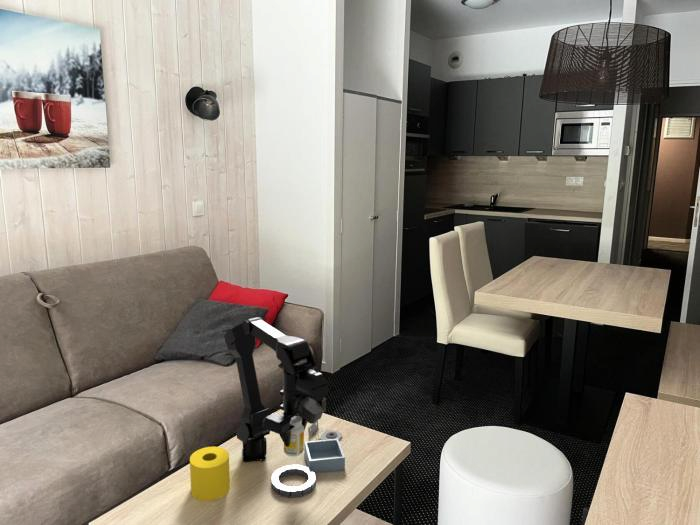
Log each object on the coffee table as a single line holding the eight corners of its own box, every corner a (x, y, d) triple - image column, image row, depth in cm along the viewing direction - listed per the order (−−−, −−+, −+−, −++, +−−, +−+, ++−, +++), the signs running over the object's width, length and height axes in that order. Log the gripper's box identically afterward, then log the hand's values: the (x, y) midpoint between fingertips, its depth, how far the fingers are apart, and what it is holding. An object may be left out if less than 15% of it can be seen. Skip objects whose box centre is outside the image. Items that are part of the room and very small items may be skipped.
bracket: (336, 445, 167) (336, 434, 166) (307, 437, 171) (308, 427, 170) (345, 435, 173) (345, 425, 172) (317, 428, 177) (317, 418, 176)
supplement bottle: (288, 459, 141) (288, 425, 139) (280, 449, 145) (280, 416, 143) (307, 453, 143) (307, 421, 141) (298, 444, 148) (299, 412, 146)
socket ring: (273, 500, 139) (273, 493, 139) (270, 473, 151) (270, 467, 150) (318, 495, 142) (318, 488, 142) (311, 469, 153) (311, 463, 153)
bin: (309, 473, 151) (309, 461, 150) (304, 453, 161) (304, 441, 160) (344, 470, 153) (345, 457, 153) (337, 450, 163) (338, 438, 162)
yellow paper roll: (190, 503, 137) (189, 470, 135) (191, 480, 147) (190, 449, 145) (230, 497, 140) (230, 465, 138) (228, 475, 149) (228, 444, 148)
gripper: (296, 409, 128) (296, 468, 132) (339, 382, 144) (338, 435, 147) (261, 397, 134) (261, 453, 138) (306, 372, 150) (305, 423, 153)
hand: (293, 441), depth 144 cm, fingers closed on supplement bottle, 5 cm apart
